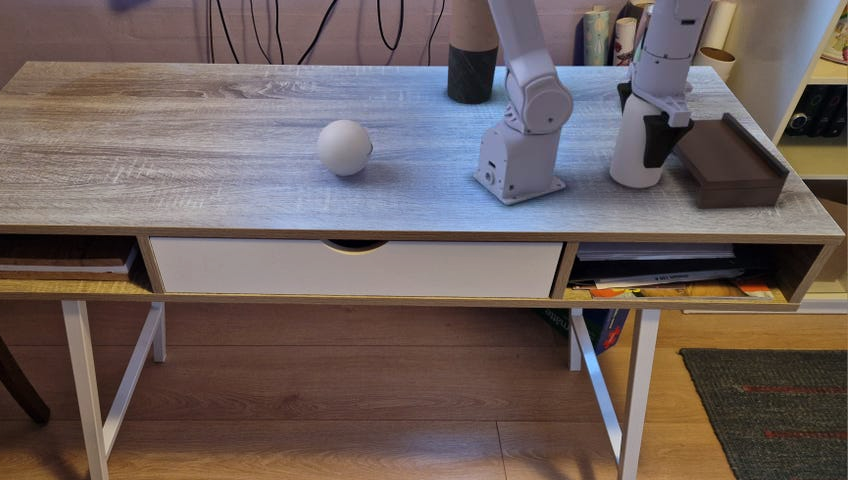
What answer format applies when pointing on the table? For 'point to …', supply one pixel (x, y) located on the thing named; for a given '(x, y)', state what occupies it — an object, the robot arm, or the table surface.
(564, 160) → the table surface
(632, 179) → the can
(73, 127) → the table surface
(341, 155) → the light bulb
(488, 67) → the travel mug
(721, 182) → the desk shelf
